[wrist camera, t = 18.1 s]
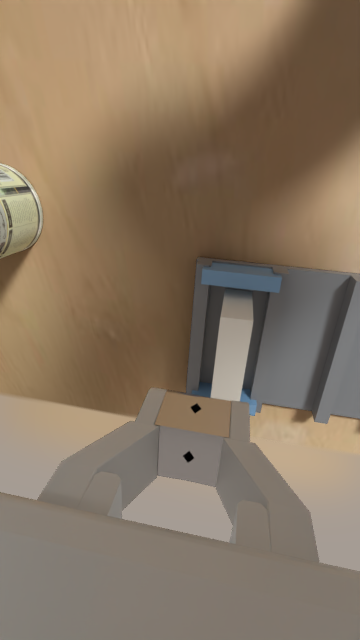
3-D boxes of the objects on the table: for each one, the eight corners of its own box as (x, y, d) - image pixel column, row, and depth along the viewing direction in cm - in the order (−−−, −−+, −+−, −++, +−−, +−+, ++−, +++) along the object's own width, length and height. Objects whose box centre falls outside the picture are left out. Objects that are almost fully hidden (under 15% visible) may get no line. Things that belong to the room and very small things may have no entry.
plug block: (225, 288, 38) (220, 316, 31) (252, 291, 37) (253, 321, 30) (214, 376, 43) (207, 418, 36) (237, 379, 42) (236, 423, 35)
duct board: (198, 256, 38) (192, 266, 34) (447, 282, 34) (471, 296, 31) (187, 386, 46) (182, 405, 42) (390, 418, 42) (403, 442, 38)
